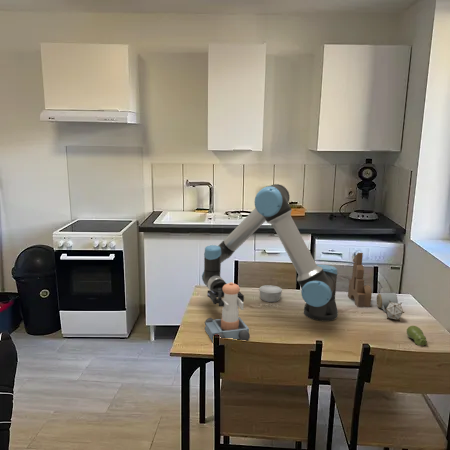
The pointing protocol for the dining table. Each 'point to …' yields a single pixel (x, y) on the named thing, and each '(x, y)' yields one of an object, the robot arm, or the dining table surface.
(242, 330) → the chassis
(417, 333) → the green toy animal
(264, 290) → the ramekin
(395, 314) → the game die
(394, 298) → the grey cylindrical jar
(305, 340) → the dining table surface
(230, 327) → the pepper shaker
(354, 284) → the wooden toy
